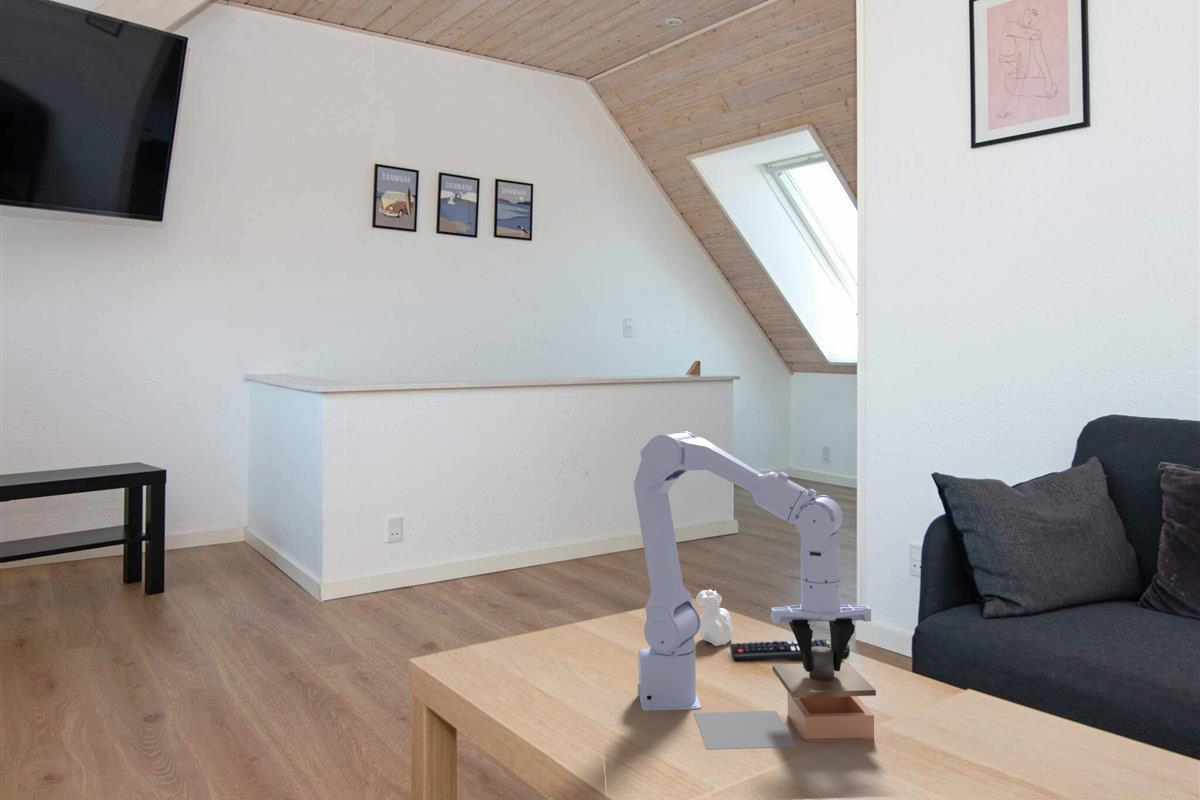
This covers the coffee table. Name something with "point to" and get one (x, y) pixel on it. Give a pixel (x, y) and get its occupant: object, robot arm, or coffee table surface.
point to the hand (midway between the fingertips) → (821, 669)
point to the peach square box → (831, 718)
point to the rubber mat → (743, 730)
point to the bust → (714, 619)
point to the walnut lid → (822, 678)
